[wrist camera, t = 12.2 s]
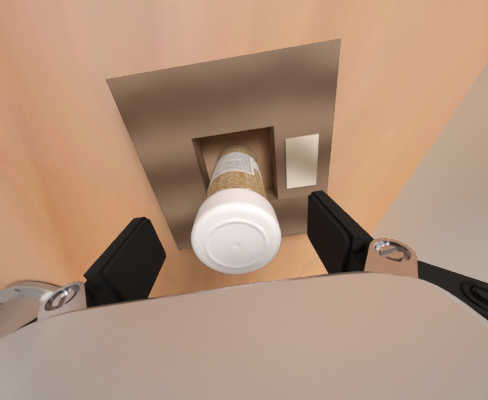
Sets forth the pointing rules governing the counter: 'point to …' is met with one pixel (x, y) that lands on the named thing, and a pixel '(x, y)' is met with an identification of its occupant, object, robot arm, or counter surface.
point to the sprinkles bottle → (236, 217)
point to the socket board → (234, 126)
